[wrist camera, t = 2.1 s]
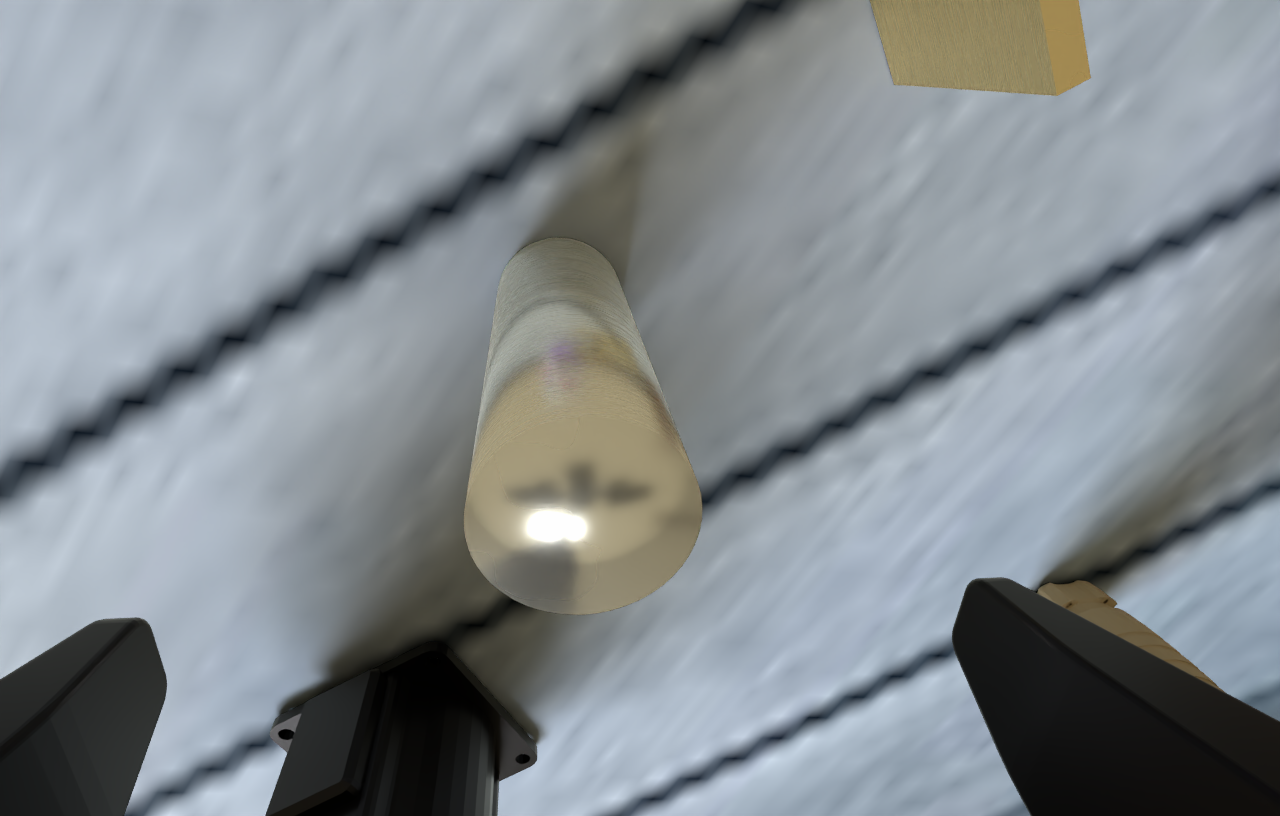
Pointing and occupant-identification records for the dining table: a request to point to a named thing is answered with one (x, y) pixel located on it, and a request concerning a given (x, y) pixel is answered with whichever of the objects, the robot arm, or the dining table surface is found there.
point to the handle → (1116, 621)
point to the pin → (575, 444)
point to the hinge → (984, 44)
